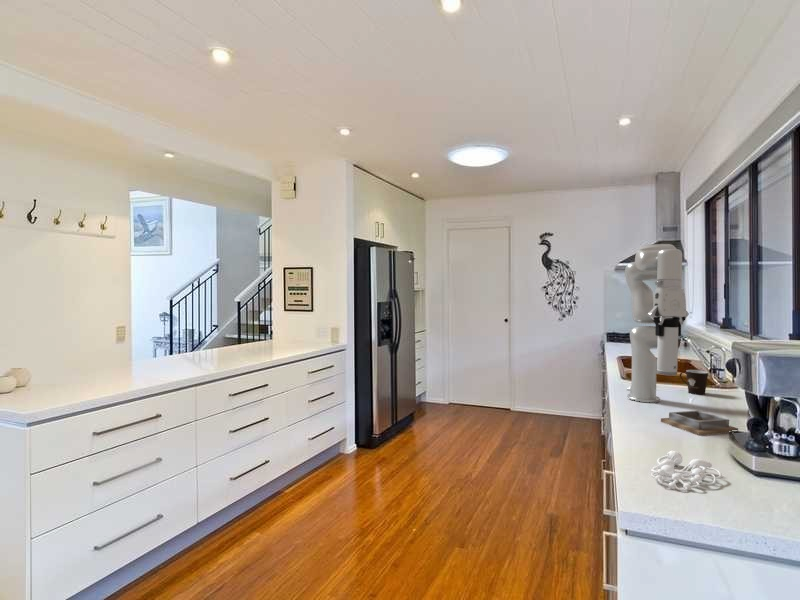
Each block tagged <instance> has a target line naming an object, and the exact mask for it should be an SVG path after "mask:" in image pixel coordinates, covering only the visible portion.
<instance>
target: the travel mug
mask: <svg viewBox="0 0 800 600" xmlns="http://www.w3.org/2000/svg"><path fill="white" fill-rule="evenodd" d="M659 320H660V319H659ZM678 320H680V318H678V317H675V318H665V319H664V321H663V324H662V325H664V336H658V345H657V349H656V353H657V355H656V357H657V358H656V360H657V374H658V375H663V376H677V375H678V358H679V357H678V356H679V354H678V353H679V336H678Z"/></svg>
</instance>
